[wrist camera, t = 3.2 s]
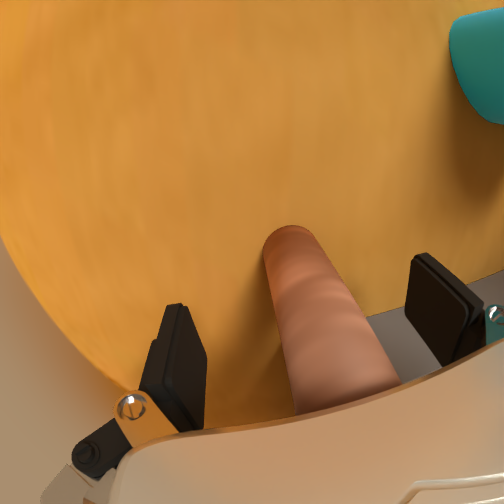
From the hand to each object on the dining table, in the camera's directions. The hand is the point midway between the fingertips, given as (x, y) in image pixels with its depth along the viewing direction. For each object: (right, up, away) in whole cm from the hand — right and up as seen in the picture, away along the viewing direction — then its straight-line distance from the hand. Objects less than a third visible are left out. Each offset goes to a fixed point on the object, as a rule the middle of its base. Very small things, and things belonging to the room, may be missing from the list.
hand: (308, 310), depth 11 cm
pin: (0, +2, +4) cm, 5 cm away
